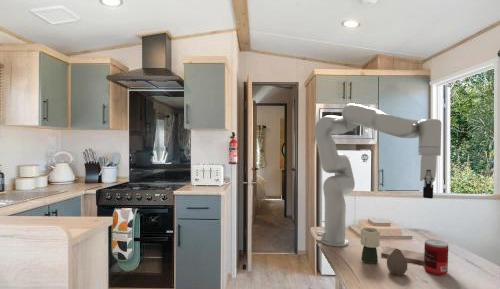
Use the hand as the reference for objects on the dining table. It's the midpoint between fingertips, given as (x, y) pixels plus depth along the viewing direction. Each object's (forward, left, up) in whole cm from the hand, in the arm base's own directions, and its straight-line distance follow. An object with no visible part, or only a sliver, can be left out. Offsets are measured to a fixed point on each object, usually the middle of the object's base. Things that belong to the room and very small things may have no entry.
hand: (428, 196), depth 125 cm
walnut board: (-9, +7, -28) cm, 30 cm away
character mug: (-20, -7, -28) cm, 35 cm away
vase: (-9, -13, -28) cm, 32 cm away
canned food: (+3, -3, -28) cm, 28 cm away
